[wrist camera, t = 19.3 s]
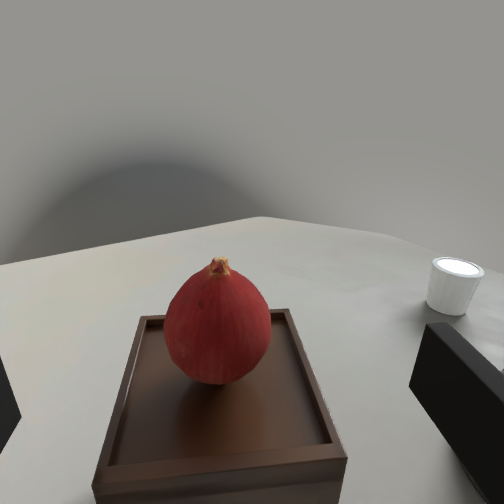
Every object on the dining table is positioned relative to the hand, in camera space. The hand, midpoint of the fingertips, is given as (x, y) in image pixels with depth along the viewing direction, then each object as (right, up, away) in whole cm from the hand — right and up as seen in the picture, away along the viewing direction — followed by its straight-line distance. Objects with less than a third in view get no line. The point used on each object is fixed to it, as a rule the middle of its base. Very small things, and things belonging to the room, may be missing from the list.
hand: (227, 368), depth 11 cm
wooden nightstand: (-2, -17, +15) cm, 22 cm away
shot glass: (+31, -5, +43) cm, 54 cm away
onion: (-1, -4, +9) cm, 10 cm away
